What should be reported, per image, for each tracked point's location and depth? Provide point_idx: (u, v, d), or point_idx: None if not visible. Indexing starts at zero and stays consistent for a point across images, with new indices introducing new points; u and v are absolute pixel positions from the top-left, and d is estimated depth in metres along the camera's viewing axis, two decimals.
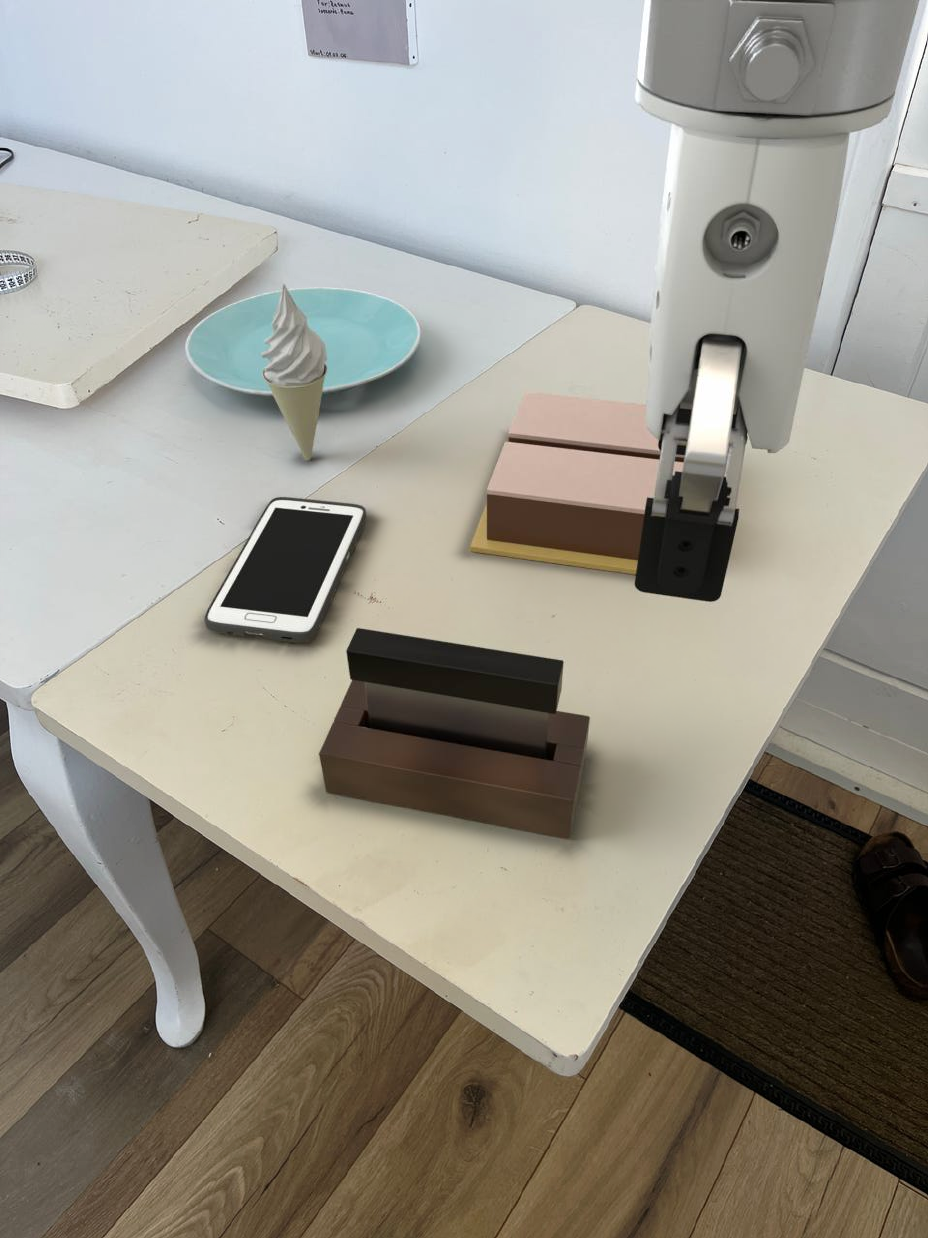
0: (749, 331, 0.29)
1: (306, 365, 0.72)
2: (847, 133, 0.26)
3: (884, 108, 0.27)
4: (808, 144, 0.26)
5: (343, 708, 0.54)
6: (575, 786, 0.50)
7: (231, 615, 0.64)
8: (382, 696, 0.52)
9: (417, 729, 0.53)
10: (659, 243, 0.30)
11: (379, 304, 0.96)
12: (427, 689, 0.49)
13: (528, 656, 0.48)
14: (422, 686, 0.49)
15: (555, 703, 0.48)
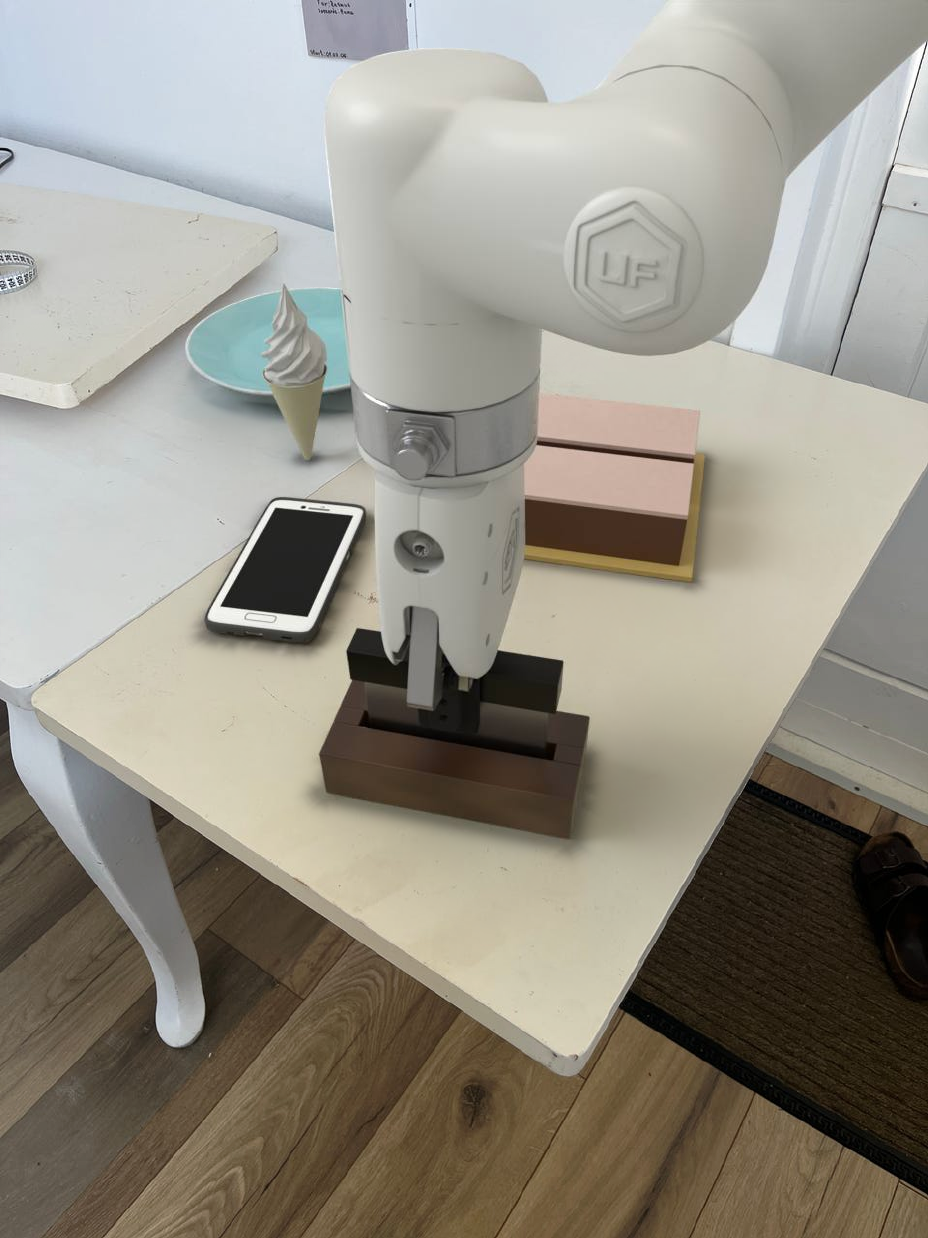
0: (437, 606, 0.39)
1: (306, 365, 0.72)
2: (488, 482, 0.37)
3: (519, 459, 0.38)
4: (454, 496, 0.36)
5: (343, 708, 0.54)
6: (575, 786, 0.50)
7: (231, 615, 0.64)
8: (382, 696, 0.52)
9: (417, 729, 0.53)
10: None
11: None
12: None
13: (528, 656, 0.48)
14: None
15: (555, 703, 0.48)
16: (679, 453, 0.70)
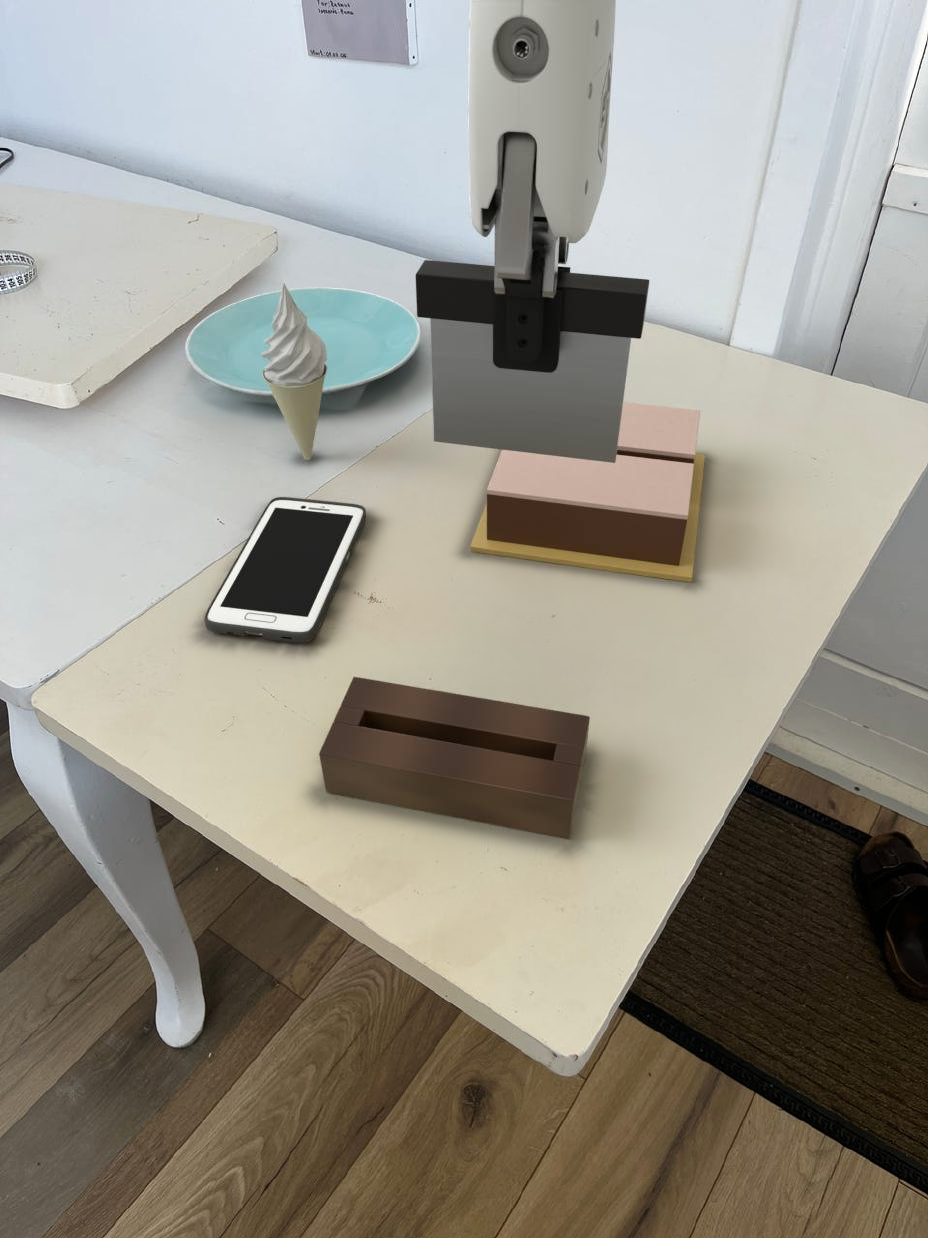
0: (536, 127, 0.36)
1: (306, 365, 0.72)
2: None
3: None
4: None
5: (343, 708, 0.54)
6: (575, 786, 0.50)
7: (231, 615, 0.64)
8: (449, 345, 0.48)
9: (484, 388, 0.50)
10: None
11: (379, 303, 0.96)
12: None
13: (611, 276, 0.45)
14: None
15: (641, 322, 0.45)
16: (679, 453, 0.70)
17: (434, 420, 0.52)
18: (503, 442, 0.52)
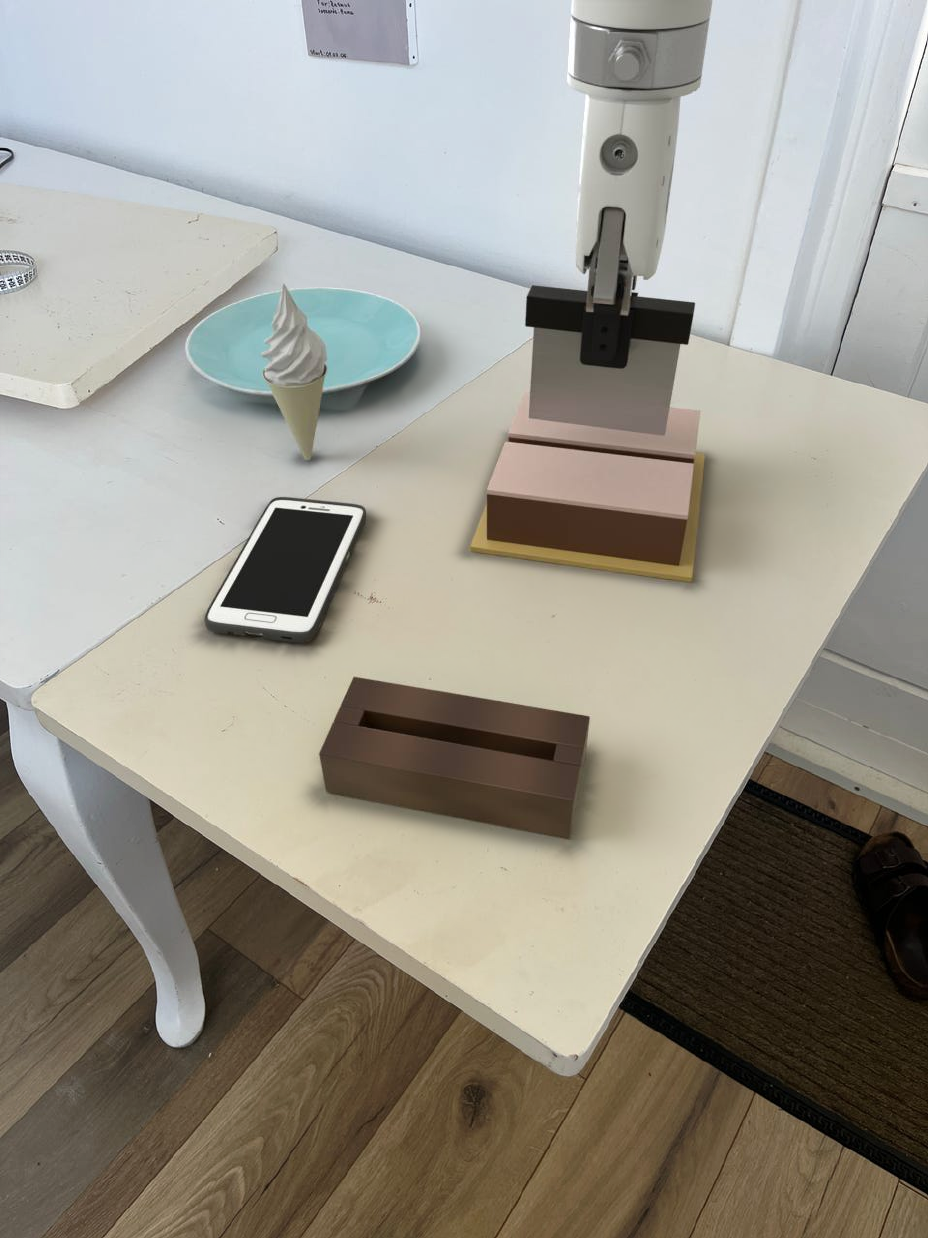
0: (626, 204, 0.54)
1: (306, 365, 0.72)
2: (671, 98, 0.52)
3: (692, 85, 0.52)
4: (650, 103, 0.51)
5: (343, 708, 0.54)
6: (575, 786, 0.50)
7: (231, 615, 0.64)
8: (546, 346, 0.66)
9: (570, 379, 0.67)
10: None
11: (379, 303, 0.96)
12: None
13: None
14: None
15: (689, 333, 0.62)
16: (679, 453, 0.70)
17: (530, 402, 0.69)
18: (581, 419, 0.69)
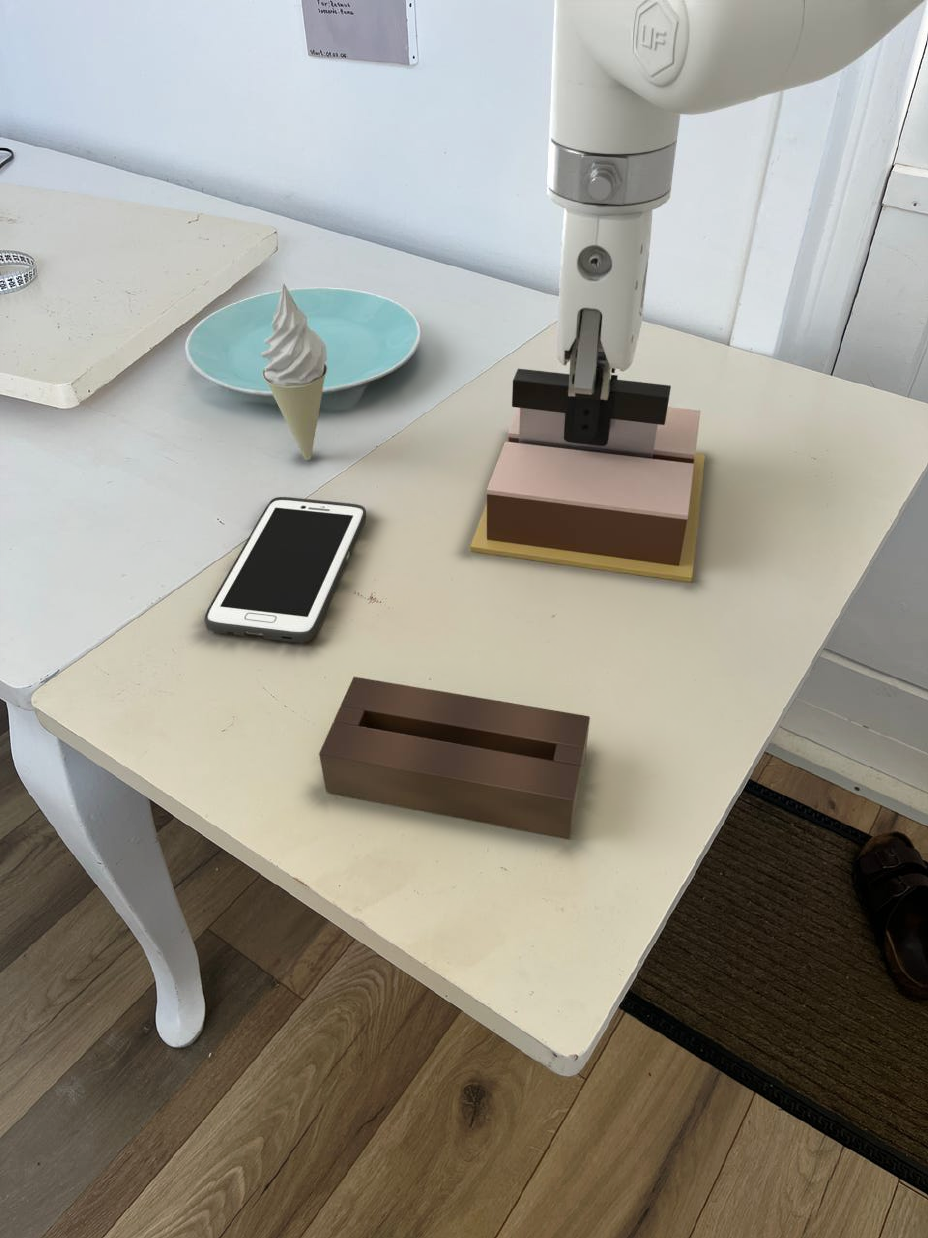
0: (602, 306, 0.58)
1: (306, 365, 0.72)
2: (642, 212, 0.56)
3: (662, 199, 0.56)
4: (622, 218, 0.55)
5: (343, 708, 0.54)
6: (575, 786, 0.50)
7: (231, 615, 0.64)
8: (532, 424, 0.70)
9: None
10: None
11: (379, 303, 0.96)
12: None
13: (645, 383, 0.67)
14: None
15: (665, 414, 0.67)
16: (679, 453, 0.70)
17: None
18: None
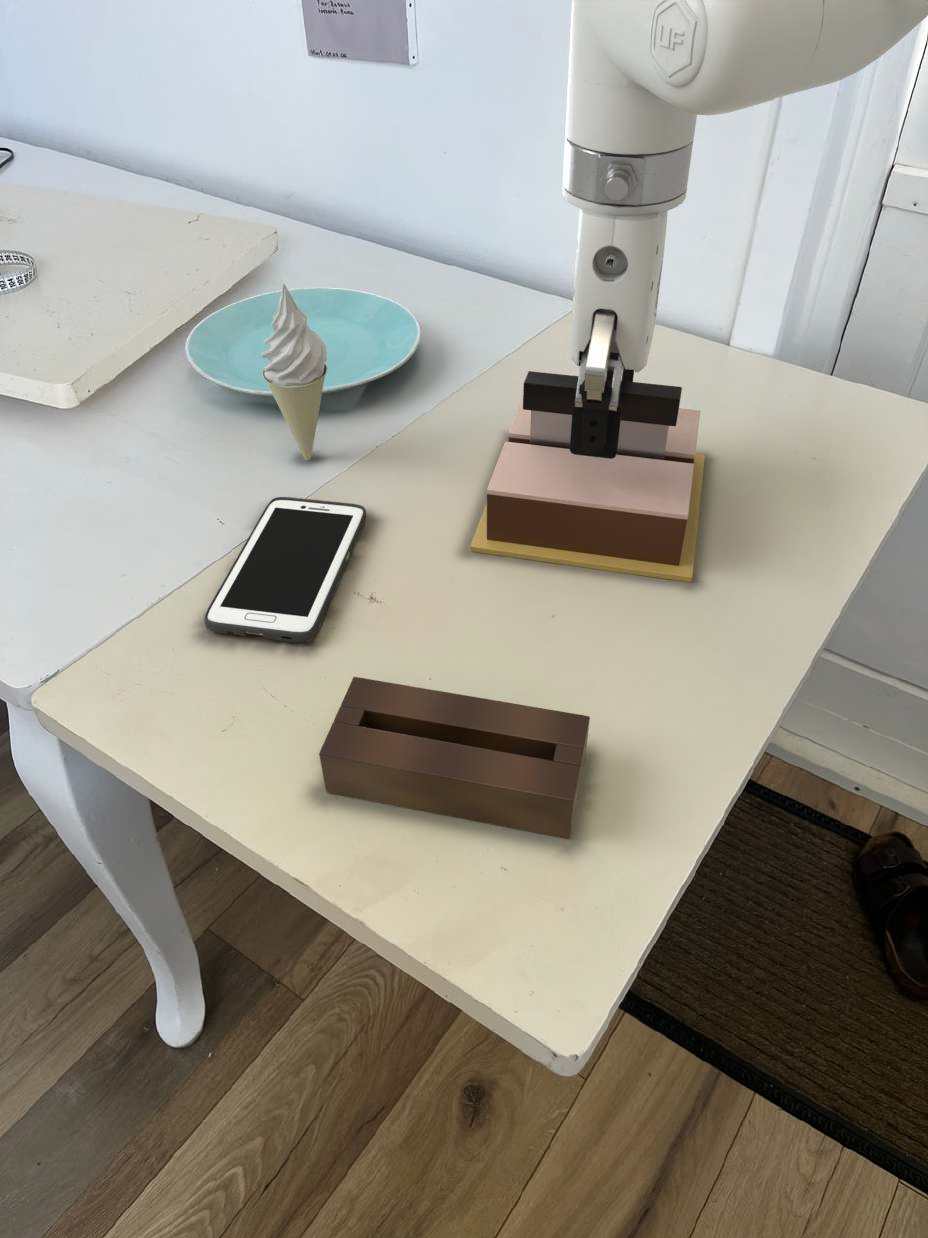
0: (617, 307, 0.58)
1: (306, 365, 0.72)
2: (658, 212, 0.56)
3: (678, 200, 0.56)
4: (638, 218, 0.55)
5: (343, 708, 0.54)
6: (575, 786, 0.50)
7: (231, 615, 0.64)
8: (543, 427, 0.70)
9: None
10: None
11: (379, 303, 0.96)
12: None
13: (656, 384, 0.67)
14: None
15: (676, 416, 0.67)
16: (679, 453, 0.70)
17: None
18: None
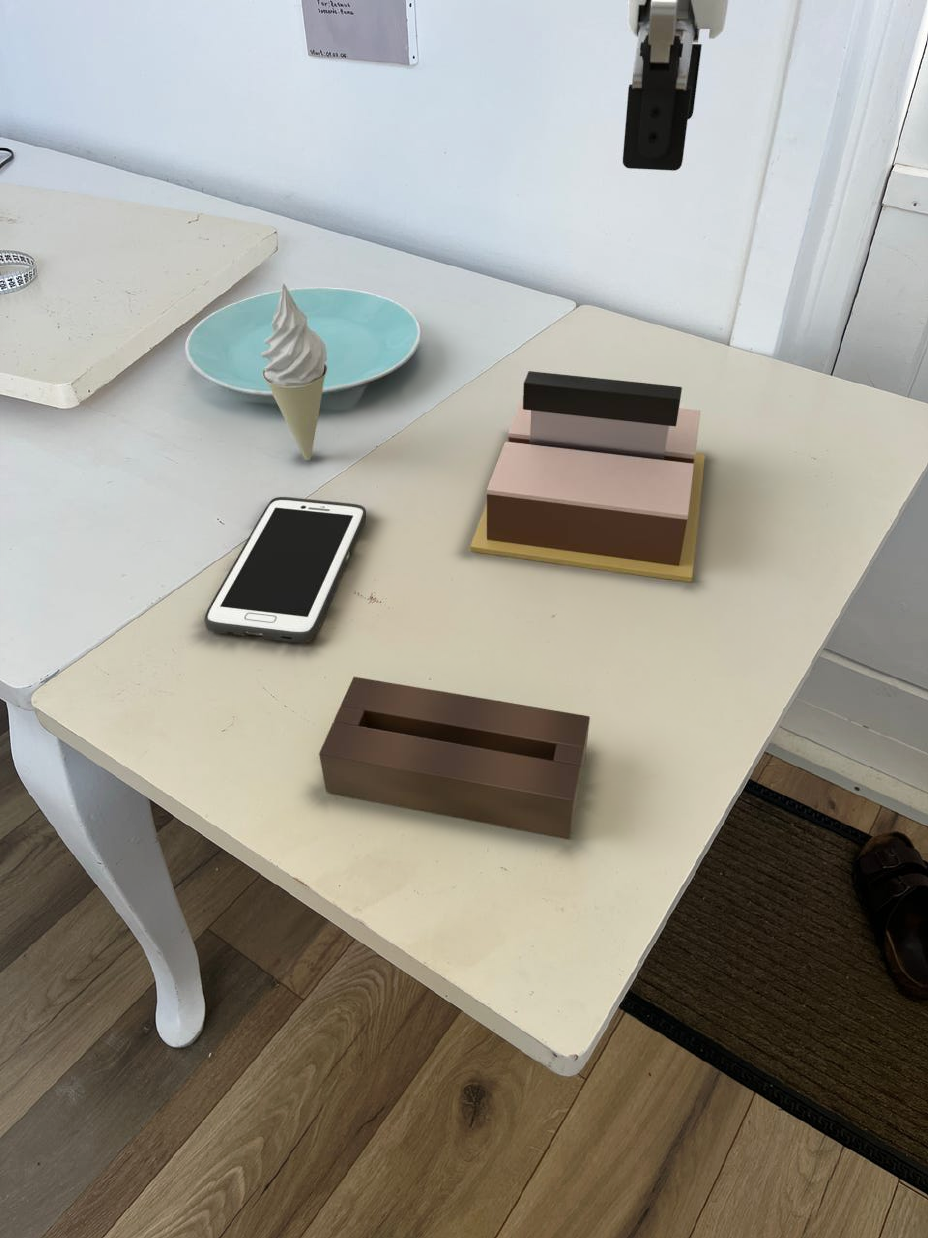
0: None
1: (306, 365, 0.72)
2: None
3: None
4: None
5: (343, 708, 0.54)
6: (575, 786, 0.50)
7: (231, 615, 0.64)
8: (543, 427, 0.70)
9: None
10: None
11: (379, 303, 0.96)
12: (581, 412, 0.68)
13: (656, 384, 0.67)
14: (577, 410, 0.68)
15: (676, 416, 0.67)
16: (679, 453, 0.70)
17: None
18: None
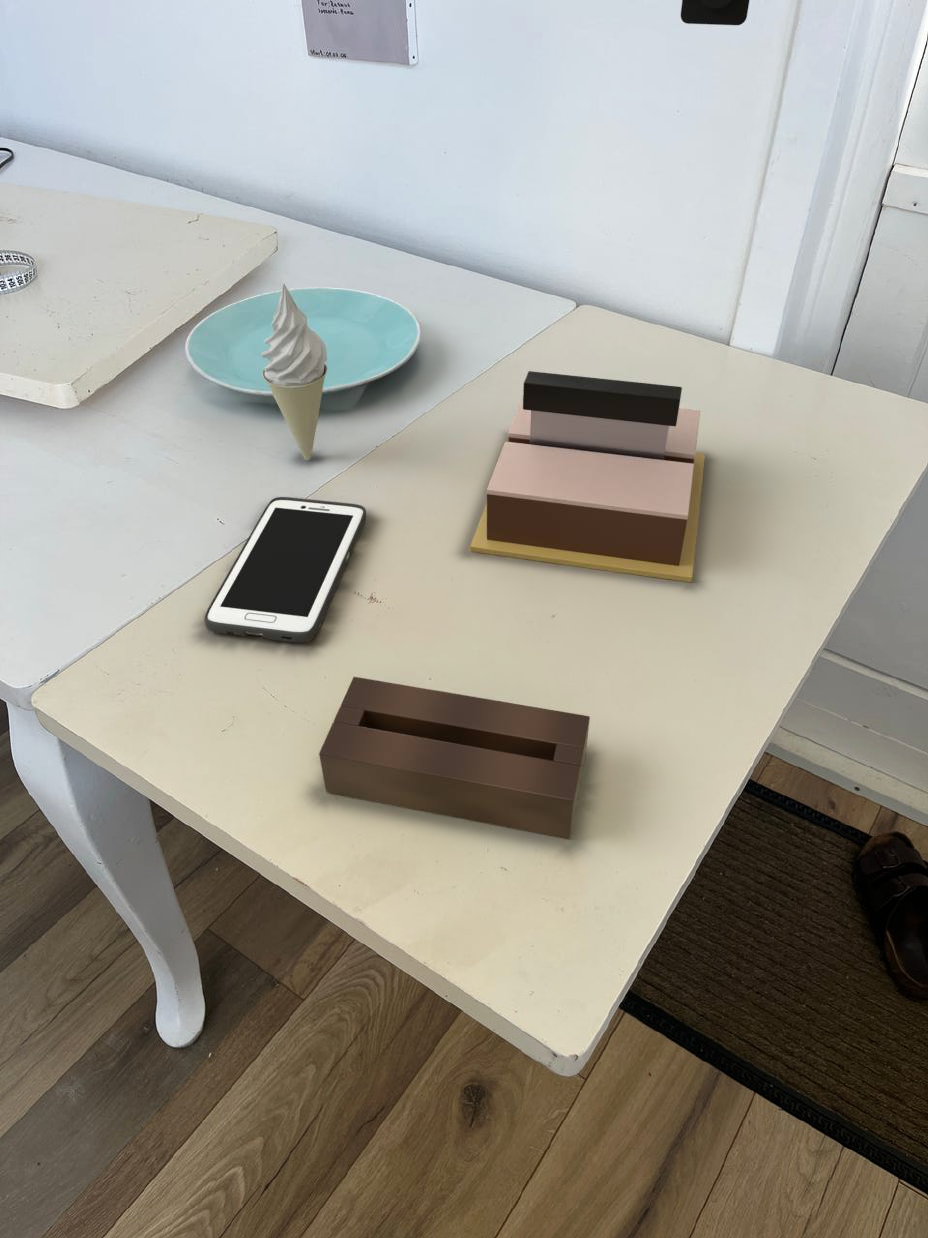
0: None
1: (306, 365, 0.72)
2: None
3: None
4: None
5: (343, 708, 0.54)
6: (575, 786, 0.50)
7: (231, 615, 0.64)
8: (543, 427, 0.70)
9: None
10: None
11: (379, 303, 0.96)
12: (581, 412, 0.68)
13: (656, 384, 0.67)
14: (577, 410, 0.68)
15: (676, 416, 0.67)
16: (679, 453, 0.70)
17: None
18: None
